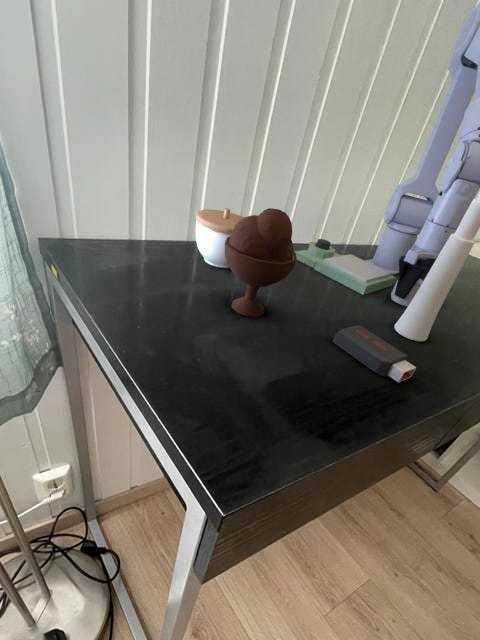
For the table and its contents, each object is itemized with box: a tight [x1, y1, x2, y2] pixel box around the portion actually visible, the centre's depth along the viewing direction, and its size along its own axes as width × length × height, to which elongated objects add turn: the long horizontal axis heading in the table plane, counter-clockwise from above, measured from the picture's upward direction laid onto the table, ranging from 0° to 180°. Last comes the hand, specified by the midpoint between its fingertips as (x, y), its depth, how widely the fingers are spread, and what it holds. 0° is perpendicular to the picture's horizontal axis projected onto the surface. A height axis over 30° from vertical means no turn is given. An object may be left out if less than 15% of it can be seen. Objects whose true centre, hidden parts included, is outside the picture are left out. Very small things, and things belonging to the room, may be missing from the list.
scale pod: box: [294, 241, 343, 269], centre depth 87 cm, size 12×6×3 cm, turn 134°
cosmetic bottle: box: [393, 191, 480, 342], centre depth 60 cm, size 6×6×22 cm
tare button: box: [316, 238, 331, 250], centre depth 85 cm, size 3×3×2 cm
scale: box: [313, 253, 396, 296], centre depth 83 cm, size 13×13×3 cm
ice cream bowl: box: [225, 207, 298, 318], centre depth 57 cm, size 11×11×15 cm
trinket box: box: [195, 207, 245, 269], centre depth 71 cm, size 11×11×9 cm
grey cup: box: [390, 279, 424, 307], centre depth 77 cm, size 6×6×4 cm
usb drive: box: [332, 325, 417, 384], centre depth 56 cm, size 5×12×3 cm, turn 36°
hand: (405, 294), depth 78 cm, fingers closed on grey cup, 6 cm apart
